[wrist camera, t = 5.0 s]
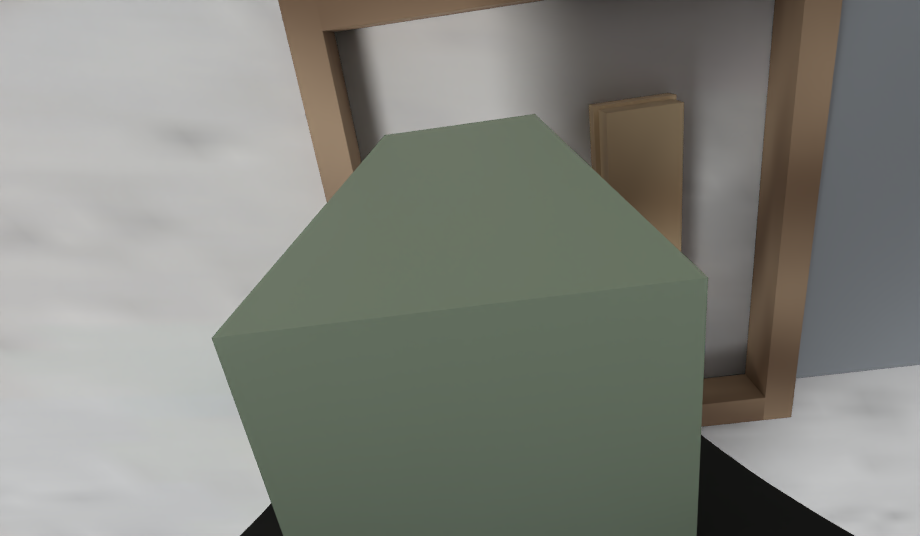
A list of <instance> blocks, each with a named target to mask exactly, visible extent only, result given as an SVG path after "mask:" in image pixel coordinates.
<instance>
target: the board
mask: <svg viewBox="0 0 920 536" xmlns="http://www.w3.org/2000/svg"><path fill="white" fill-rule="evenodd" d="M707 289H708V277H707V276H706V275H705V274H704V273H703V272H702V271H700V270H699V269H698V268H697V267H696V266H695V265H694V264H693V263H692V262H691V261H690V260H689V259H688V258H687V257H686V256H685V255H684V254H682V253H681V252H680V251H679V250H678V249H677V248H676V247H675V246H674V245H673V244H672V243H671V242H670V241H669V240H668V239H667V238H666V237H664V236H663V235H662V234H661V233H660V232H659V231H658V230H657V229H656V228H655V227H654V226H653V225H652V224H651V223H650V222H649V221H647V220H646V219H645V218H644V217H643V216H642V215H641V214H640V213H639V212H638V211H637V210H636V209H635V208H634V207H633V206H632V205H631V204H629V203H628V202H627V201H626V200H625V199H624V198H623V197H622V196H621V195H620V194H619V193H618V192H617V191H616V190H615V189H614V188H613V187H611V186H610V185H609V184H608V183H607V182H606V181H605V180H604V179H603V178H602V177H601V176H600V175H599V174H598V173H597V172H596V171H595V170H593V169H592V168H591V167H590V166H589V165H588V164H587V163H586V162H585V161H584V160H583V159H582V158H581V157H580V156H579V155H578V154H577V153H575V152H574V151H573V150H572V149H571V148H570V147H569V146H568V145H567V144H566V143H565V142H564V141H563V140H562V139H561V138H560V137H558V136H557V135H556V134H555V133H554V132H553V131H552V130H551V129H550V128H549V127H548V126H547V125H546V124H545V123H544V122H543V121H542V120H540V119H539V118H538V117H537V116H536V115H535V114H532V115H525V116H518V117H511V118H504V119H497V120H490V121H483V122H476V123H469V124H461V125H454V126H447V127H440V128H433V129H426V130H419V131H412V132H405V133H398V134H390V135H385V136H384V137H383V138H382V139H381V140H380V141H379V143H378V144H377V145H376V146H375V147H374V148H373V150H372V151H371V152H370V153H369V154H368V155H367V157H366V158H365V159H364V160H363V161H362V163H361V164H360V165H359V166H358V167H357V168H356V170H355V171H354V172H353V173H352V174H351V175H350V177H349V178H348V179H347V180H346V181H345V182H344V184H343V185H342V186H341V187H340V188H339V189H338V191H337V192H336V193H335V194H334V195H333V196H332V198H331V199H330V200H329V201H328V202H327V204H326V205H325V206H324V207H323V208H322V209H321V211H320V212H319V213H318V214H317V215H316V216H315V218H314V219H313V220H312V221H311V222H310V223H309V225H308V226H307V227H306V228H305V229H304V230H303V232H302V233H301V234H300V235H299V236H298V237H297V239H296V240H295V241H294V242H293V243H292V245H291V246H290V247H289V248H288V249H287V250H286V252H285V253H284V254H283V255H282V256H281V257H280V259H279V260H278V261H277V262H276V263H275V264H274V266H273V267H272V268H271V269H270V270H269V271H268V273H267V274H266V275H265V276H264V277H263V278H262V280H261V281H260V282H259V283H258V284H257V286H256V287H255V288H254V289H253V290H252V291H251V293H250V294H249V295H248V296H247V297H246V298H245V300H244V301H243V302H242V303H241V304H240V305H239V307H238V308H237V309H236V310H235V311H234V312H233V314H232V315H231V316H230V317H229V318H228V319H227V321H226V322H225V323H224V324H223V325H222V327H221V328H220V329H219V330H218V331H217V332H216V334H215V335H214V336H213V337H212V340H213V343H214V346H215V349H216V351H217V354H218V357H219V360H220V362H221V365H222V368H223V371H224V373H225V376H226V379H227V382H228V385H229V387H230V390H231V393H232V396H233V398H234V401H235V404H236V407H237V409H238V412H239V415H240V418H241V420H242V423H243V426H244V429H245V431H246V434H247V437H248V440H249V442H250V445H251V448H252V451H253V454H254V456H255V459H256V462H257V465H258V467H259V470H260V473H261V476H262V478H263V481H264V484H265V487H266V489H267V492H268V495H269V498H270V500H271V503H272V506H273V509H274V511H275V514H276V517H277V520H278V522H279V525H280V528H281V531H282V534H283V536H697V514H698V491H699V469H700V446H701V424H702V401H703V379H704V356H705V334H706V311H707Z"/></svg>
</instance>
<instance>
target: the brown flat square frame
mask: <svg viewBox="0 0 920 536" xmlns="http://www.w3.org/2000/svg"><path fill="white" fill-rule="evenodd" d="M535 1H542V0H278V2H279V6H280V10H281V14H282V18H283V22H284V26H285V31H286V35H287V39H288V43H289V47H290V51H291V55H292V60H293V64H294V68H295V72H296V76H297V80H298V85H299V89H300V93H301V97H302V101H303V105H304V109H305V114H306V118H307V122H308V126H309V130H310V134H311V139H312V143H313V147H314V151H315V155H316V159H317V163H318V168H319V172H320V176H321V180H322V184H323V188H324V192H325V197H326V201H327V202H328V201H329V200H330V199H331V198H332V196H333V195H334V194H335V193H336V192H337V191H338V189H339V188H340V187H341V186H342V185H343V184H344V182H345V181H346V180H347V179H348V178H349V177H350V175H351V174H352V173H353V172H354V171H355V170H356V168H357V167H358V166H359V165H360V164H361V163H362V162H361V157H360V152H359V148H358V143H357V138H356V133H355V128H354V124H353V119H352V114H351V109H350V104H349V100H348V95H347V90H346V85H345V81H344V76H343V71H342V66H341V61H340V57H339V52H338V47H337V42H336V37H335V33H334V32H339V31H345V30H352V29H359V28H365V27H372V26H378V25H385V24H391V23H398V22H404V21H411V20H418V19H424V18H431V17H437V16H444V15H450V14H457V13H463V12H470V11H476V10H483V9H490V8H496V7H503V6H509V5H516V4H522V3H529V2H535ZM842 1H843V0H775V5H774V18H773V31H772V43H771V56H770V68H769V81H768V93H767V106H766V118H765V131H764V143H763V156H762V168H761V181H760V193H759V206H758V218H757V231H756V243H755V256H754V268H753V281H752V293H751V306H750V318H749V331H748V343H747V356H746V369H745V374H741V375H732V376H723V377H714V378H705V379H703V401H702V424H701V427H703V426H712V425H721V424H731V423H740V422H749V421H759V420H768V419H777V418H787V417H791V413H792V405H793V397H794V389H795V381H796V373H797V365H798V357H799V349H800V341H801V332H802V324H803V316H804V308H805V300H806V292H807V284H808V276H809V268H810V260H811V252H812V243H813V235H814V227H815V219H816V211H817V203H818V195H819V187H820V179H821V171H822V162H823V154H824V146H825V138H826V130H827V122H828V114H829V106H830V98H831V90H832V82H833V73H834V65H835V57H836V49H837V41H838V33H839V25H840V17H841V9H842Z"/></svg>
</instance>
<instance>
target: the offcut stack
mask: <svg viewBox="0 0 920 536" xmlns="http://www.w3.org/2000/svg"><path fill="white" fill-rule="evenodd" d="M589 121H590V142H591V163H592V169H593V170H595V171H596V172H597V173H598V174H599V175H600V176H601V177H602V178H603V179H604V180H605V181H606V182H607V183H608V184H609V185H610V186H611V187H613V188H614V189H615V190H616V191H617V192H618V193H619V194H620V195H621V196H622V197H623V198H624V199H625V200H626V201H627V202H628V203H629V204H631V205H632V206H633V207H634V208H635V209H636V210H637V211H638V212H639V213H640V214H641V215H642V216H643V217H644V218H645V219H646V220H647V221H649V222H650V223H651V224H652V225H653V226H654V227H655V228H656V229H657V230H658V231H659V232H660V233H661V234H662V235H663V236H664V237H666V238H667V239H668V240H669V241H670V242H671V243H672V244H673V245H674V246H675V247H676V248H677V249H678V250H679V251H680V252H681V233H682V180H683V127H684V102H681V101H677V100H676V94H671V93H665V94H658V95H651V96H644V97H637V98H630V99H623V100H617V101H610V102H603V103H596V104H589Z"/></svg>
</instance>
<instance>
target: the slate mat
mask: <svg viewBox="0 0 920 536" xmlns="http://www.w3.org/2000/svg"><path fill="white" fill-rule="evenodd" d="M912 365H920V0H843V1H842V9H841V17H840V25H839V33H838V41H837V49H836V57H835V65H834V73H833V82H832V90H831V98H830V106H829V114H828V122H827V130H826V138H825V146H824V154H823V162H822V171H821V179H820V187H819V195H818V203H817V211H816V219H815V227H814V235H813V243H812V252H811V260H810V268H809V276H808V284H807V292H806V300H805V308H804V316H803V324H802V332H801V341H800V349H799V357H798V365H797V373H796V378H804V377H813V376H822V375H831V374H840V373H849V372H858V371H867V370H876V369H885V368H894V367H903V366H912Z"/></svg>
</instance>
